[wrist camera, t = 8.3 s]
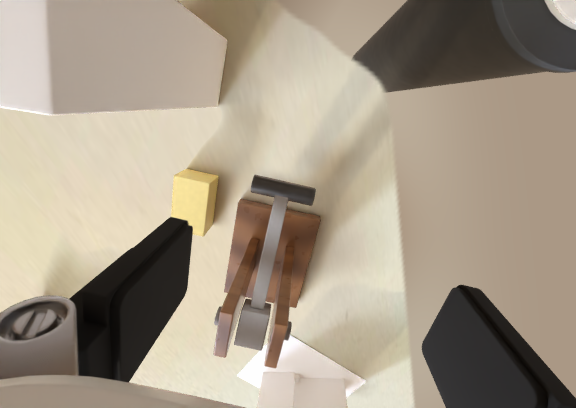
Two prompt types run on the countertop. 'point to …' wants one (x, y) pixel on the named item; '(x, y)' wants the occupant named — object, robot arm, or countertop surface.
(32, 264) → the countertop surface
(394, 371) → the countertop surface
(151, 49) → the milk
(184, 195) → the butter
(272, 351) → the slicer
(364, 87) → the countertop surface
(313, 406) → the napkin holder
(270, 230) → the lever
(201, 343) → the countertop surface
